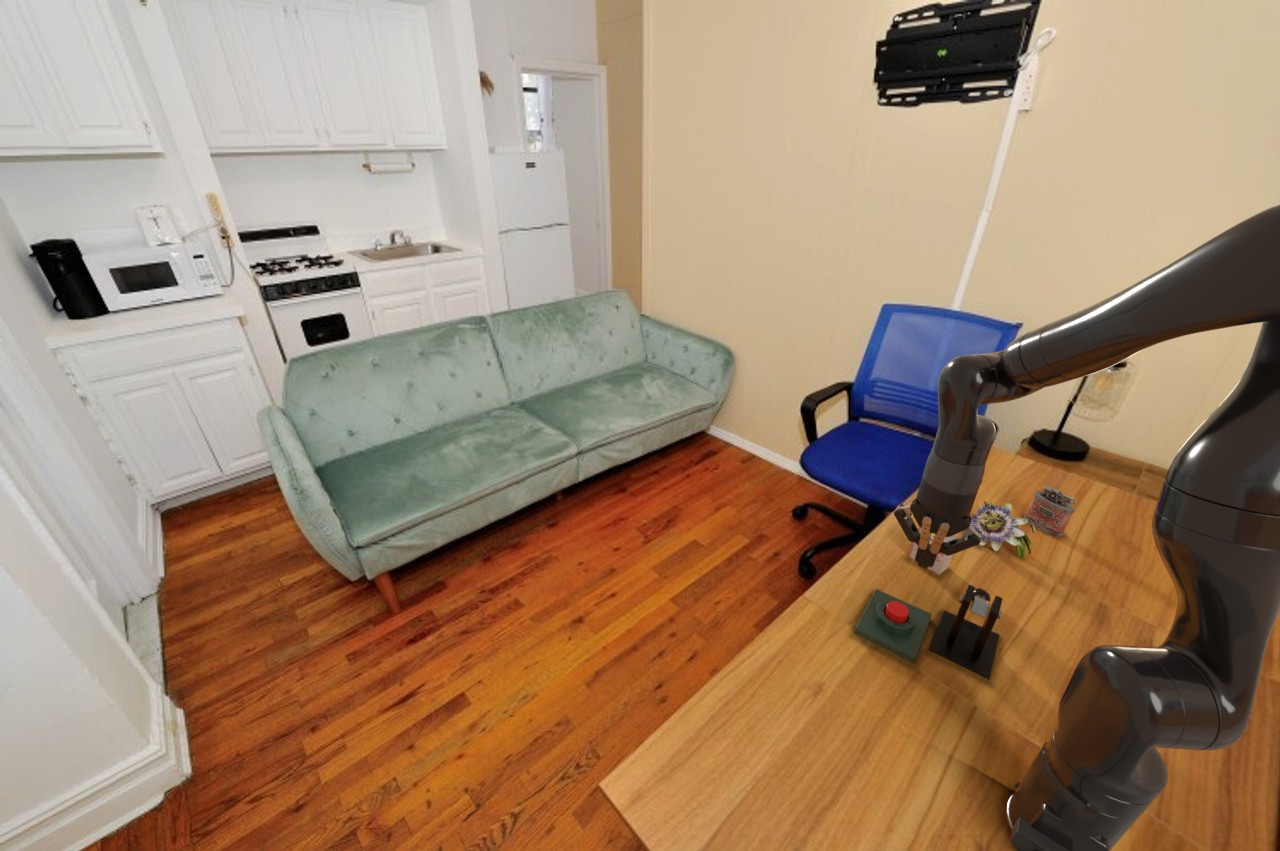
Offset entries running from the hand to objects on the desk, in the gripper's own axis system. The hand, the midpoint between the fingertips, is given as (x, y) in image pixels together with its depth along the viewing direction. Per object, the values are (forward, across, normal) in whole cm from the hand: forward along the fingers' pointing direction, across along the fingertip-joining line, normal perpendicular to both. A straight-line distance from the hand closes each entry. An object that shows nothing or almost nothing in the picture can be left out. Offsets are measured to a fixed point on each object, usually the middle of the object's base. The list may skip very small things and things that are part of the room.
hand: (923, 564), depth 85 cm
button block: (+16, -2, 0) cm, 17 cm away
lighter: (+16, +18, +52) cm, 57 cm away
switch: (+10, +9, +7) cm, 16 cm away
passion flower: (+16, +10, +39) cm, 43 cm away
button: (+13, -2, 0) cm, 13 cm away
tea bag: (+16, 0, +22) cm, 27 cm away
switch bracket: (+16, +9, +4) cm, 19 cm away
